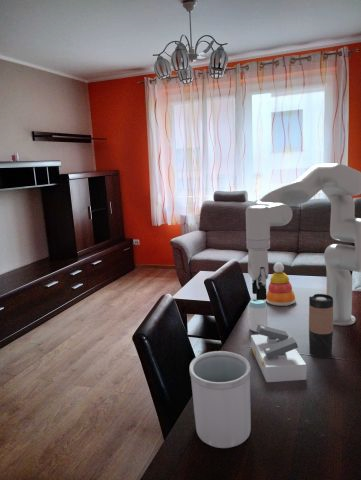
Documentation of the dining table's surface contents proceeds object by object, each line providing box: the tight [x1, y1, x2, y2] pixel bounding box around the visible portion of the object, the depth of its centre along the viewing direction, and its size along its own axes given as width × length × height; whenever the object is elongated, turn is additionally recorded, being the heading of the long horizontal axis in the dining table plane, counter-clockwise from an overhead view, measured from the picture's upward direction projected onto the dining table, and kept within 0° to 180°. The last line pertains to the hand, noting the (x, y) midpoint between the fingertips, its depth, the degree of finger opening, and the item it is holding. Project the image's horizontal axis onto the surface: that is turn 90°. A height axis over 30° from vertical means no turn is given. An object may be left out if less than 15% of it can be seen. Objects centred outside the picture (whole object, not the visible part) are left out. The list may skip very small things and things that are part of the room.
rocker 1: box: [256, 325, 290, 340], centre depth 128 cm, size 4×10×2 cm, turn 91°
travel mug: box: [308, 293, 334, 359], centre depth 127 cm, size 8×8×20 cm
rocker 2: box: [263, 336, 299, 359], centre depth 117 cm, size 4×10×2 cm, turn 91°
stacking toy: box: [265, 261, 297, 307], centre depth 175 cm, size 14×14×20 cm
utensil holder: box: [189, 350, 252, 449], centre depth 93 cm, size 15×15×18 cm
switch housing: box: [250, 334, 307, 383], centre depth 123 cm, size 22×12×6 cm, turn 1°
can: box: [248, 298, 268, 333], centre depth 148 cm, size 7×7×12 cm
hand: (259, 296), depth 125 cm, fingers open, 5 cm apart
